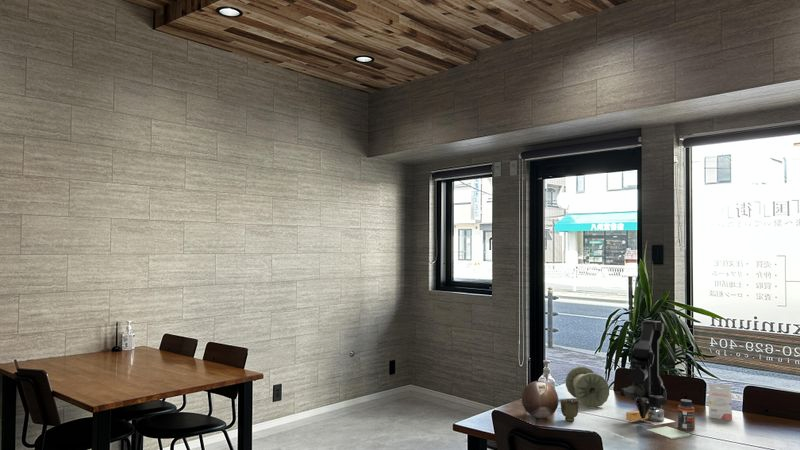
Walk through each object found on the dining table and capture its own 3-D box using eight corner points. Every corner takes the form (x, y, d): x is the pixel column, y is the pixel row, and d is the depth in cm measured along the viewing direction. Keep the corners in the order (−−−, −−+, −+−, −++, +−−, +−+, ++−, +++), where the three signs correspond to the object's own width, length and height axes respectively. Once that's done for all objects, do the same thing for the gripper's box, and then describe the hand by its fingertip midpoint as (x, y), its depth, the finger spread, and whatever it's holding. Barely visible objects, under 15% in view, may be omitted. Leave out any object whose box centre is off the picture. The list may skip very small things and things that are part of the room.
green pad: (666, 427, 229) (666, 426, 229) (691, 435, 219) (691, 434, 219) (646, 431, 224) (646, 429, 224) (670, 439, 214) (670, 437, 214)
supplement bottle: (688, 432, 223) (687, 402, 224) (674, 428, 228) (674, 399, 229) (698, 430, 226) (697, 401, 226) (684, 426, 231) (684, 397, 232)
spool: (609, 407, 258) (609, 374, 259) (575, 407, 258) (575, 373, 259) (597, 398, 275) (597, 366, 275) (565, 398, 275) (565, 366, 276)
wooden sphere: (530, 423, 232) (530, 385, 233) (515, 413, 247) (516, 378, 248) (565, 421, 235) (565, 384, 236) (548, 411, 250) (548, 376, 251)
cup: (580, 424, 232) (580, 404, 232) (561, 423, 234) (561, 403, 234) (578, 419, 239) (578, 399, 240) (559, 417, 241) (559, 398, 241)
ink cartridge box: (731, 418, 243) (731, 383, 244) (732, 421, 239) (731, 385, 240) (708, 415, 247) (708, 381, 248) (708, 418, 243) (708, 383, 244)
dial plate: (651, 415, 247) (651, 414, 247) (676, 422, 236) (675, 421, 236) (631, 418, 242) (631, 417, 242) (655, 426, 231) (655, 424, 231)
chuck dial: (652, 415, 244) (652, 404, 244) (668, 420, 237) (668, 408, 237) (620, 420, 236) (620, 408, 237) (636, 425, 229) (636, 413, 229)
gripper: (610, 375, 237) (610, 414, 236) (647, 385, 220) (647, 427, 220) (629, 373, 242) (630, 411, 241) (667, 383, 225) (668, 423, 224)
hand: (642, 418), depth 231 cm, fingers closed
